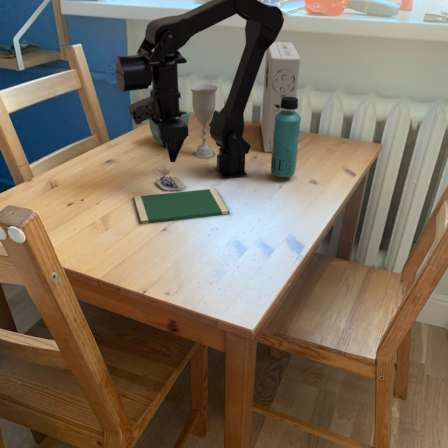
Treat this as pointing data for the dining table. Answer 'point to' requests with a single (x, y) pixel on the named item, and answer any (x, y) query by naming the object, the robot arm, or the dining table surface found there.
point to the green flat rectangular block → (179, 206)
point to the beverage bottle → (286, 139)
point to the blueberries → (169, 183)
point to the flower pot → (155, 128)
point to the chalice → (203, 112)
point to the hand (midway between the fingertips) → (169, 154)
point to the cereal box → (278, 85)
